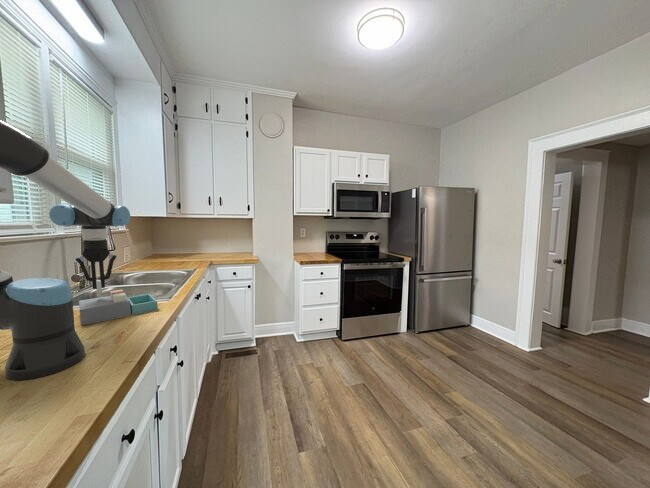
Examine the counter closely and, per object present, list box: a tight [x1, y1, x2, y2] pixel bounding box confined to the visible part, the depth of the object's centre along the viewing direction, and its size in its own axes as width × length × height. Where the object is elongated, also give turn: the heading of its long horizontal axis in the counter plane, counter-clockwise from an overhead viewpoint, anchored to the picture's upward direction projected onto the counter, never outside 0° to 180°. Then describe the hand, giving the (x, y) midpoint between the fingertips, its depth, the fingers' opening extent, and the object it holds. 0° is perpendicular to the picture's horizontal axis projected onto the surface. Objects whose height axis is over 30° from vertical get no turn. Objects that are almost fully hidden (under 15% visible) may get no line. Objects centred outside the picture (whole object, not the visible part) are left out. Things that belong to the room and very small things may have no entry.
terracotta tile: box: [110, 288, 124, 299], centre depth 113 cm, size 4×4×2 cm
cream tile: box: [112, 292, 127, 303], centre depth 108 cm, size 4×4×2 cm
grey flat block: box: [78, 295, 132, 326], centre depth 108 cm, size 15×14×6 cm
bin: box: [127, 293, 158, 316], centre depth 117 cm, size 9×14×4 cm, turn 44°
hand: (99, 296), depth 109 cm, fingers closed
